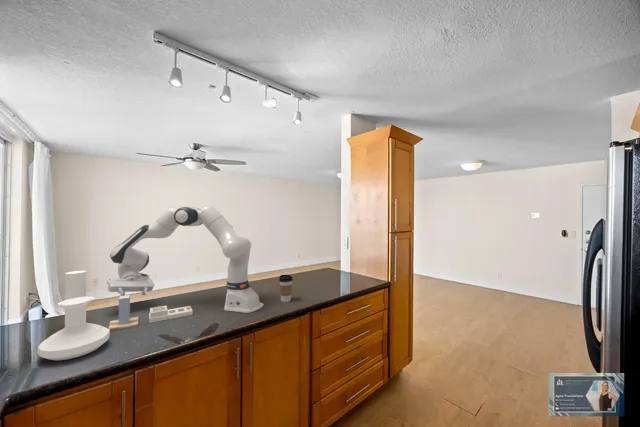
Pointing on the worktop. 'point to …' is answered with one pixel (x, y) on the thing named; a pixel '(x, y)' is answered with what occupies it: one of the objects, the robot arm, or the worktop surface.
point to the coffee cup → (285, 287)
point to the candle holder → (74, 333)
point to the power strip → (168, 313)
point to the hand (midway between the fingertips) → (133, 294)
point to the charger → (124, 309)
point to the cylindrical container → (74, 286)
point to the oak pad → (115, 324)
